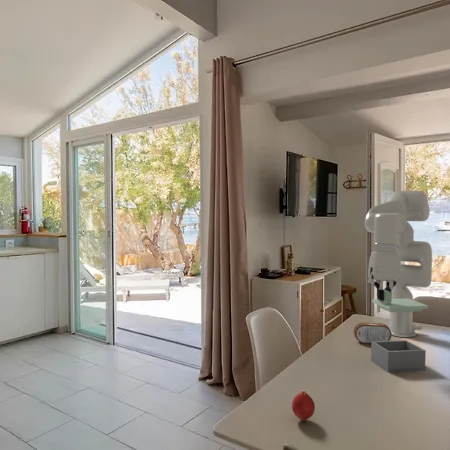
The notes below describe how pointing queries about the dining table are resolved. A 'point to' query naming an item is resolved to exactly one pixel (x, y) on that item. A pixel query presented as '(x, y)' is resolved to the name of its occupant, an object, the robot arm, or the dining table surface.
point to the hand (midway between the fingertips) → (384, 299)
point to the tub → (398, 356)
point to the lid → (398, 304)
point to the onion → (303, 406)
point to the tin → (372, 332)
